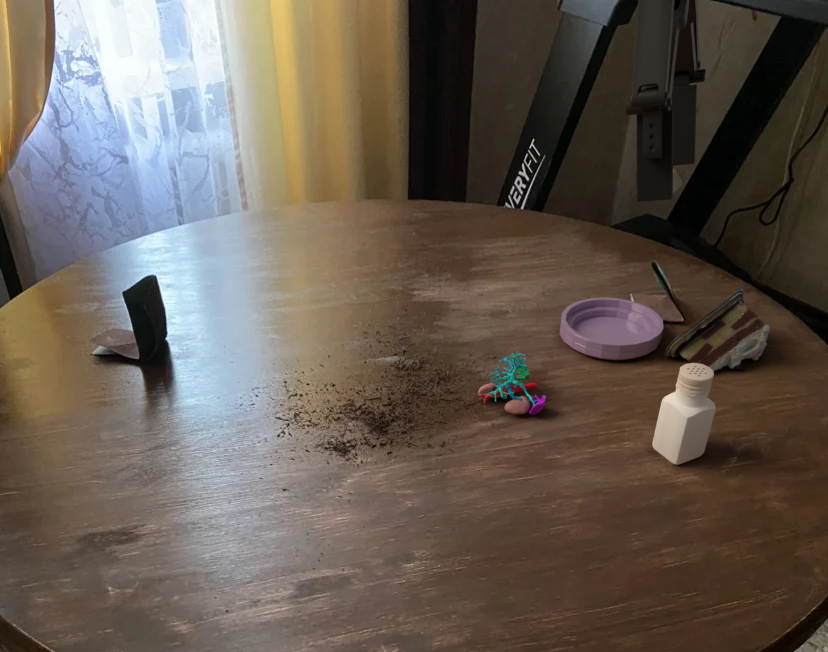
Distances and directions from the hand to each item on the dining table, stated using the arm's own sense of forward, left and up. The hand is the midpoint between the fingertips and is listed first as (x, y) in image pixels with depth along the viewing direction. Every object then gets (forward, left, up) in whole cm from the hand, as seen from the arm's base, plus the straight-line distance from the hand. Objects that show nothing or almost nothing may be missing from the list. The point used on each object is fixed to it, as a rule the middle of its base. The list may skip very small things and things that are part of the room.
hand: (667, 181), depth 74 cm
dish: (+2, -18, -25) cm, 31 cm away
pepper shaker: (-5, +5, -25) cm, 26 cm away
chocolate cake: (-11, -15, -25) cm, 32 cm away
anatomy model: (+13, -1, -25) cm, 28 cm away
